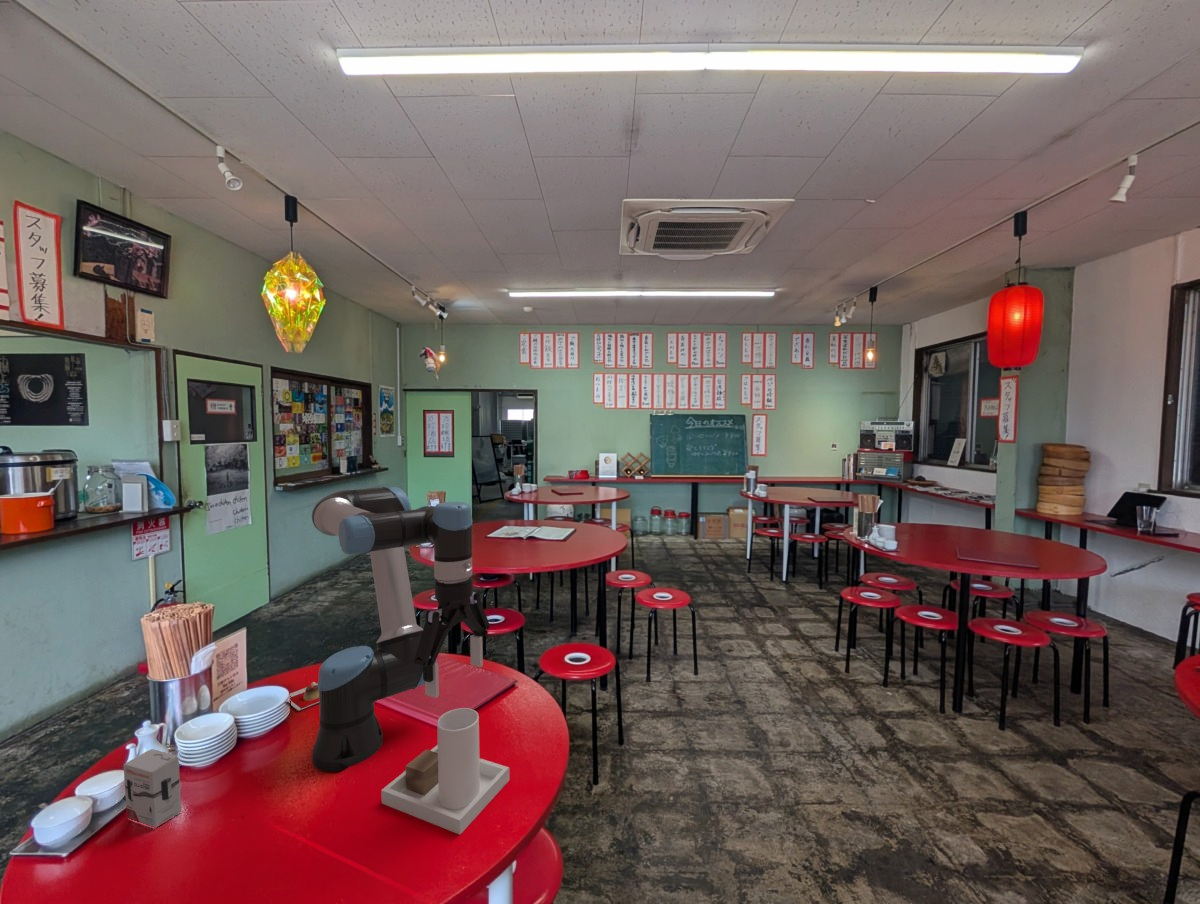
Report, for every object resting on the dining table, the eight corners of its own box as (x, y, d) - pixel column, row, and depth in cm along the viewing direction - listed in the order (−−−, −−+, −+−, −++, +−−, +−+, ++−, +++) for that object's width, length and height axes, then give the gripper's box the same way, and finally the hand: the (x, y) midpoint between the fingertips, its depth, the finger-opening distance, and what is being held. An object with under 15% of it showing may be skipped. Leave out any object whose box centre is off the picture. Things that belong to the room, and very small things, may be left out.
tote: (381, 807, 101) (381, 790, 100) (437, 759, 115) (437, 744, 115) (460, 838, 92) (459, 820, 92) (509, 783, 107) (509, 767, 107)
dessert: (298, 714, 136) (297, 697, 136) (281, 700, 143) (280, 684, 143) (343, 696, 145) (342, 680, 145) (324, 684, 153) (324, 668, 152)
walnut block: (406, 789, 104) (405, 765, 104) (426, 771, 110) (426, 749, 110) (424, 795, 102) (423, 772, 102) (444, 777, 108) (443, 755, 108)
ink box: (124, 821, 98) (122, 762, 97) (154, 803, 102) (151, 747, 102) (154, 831, 95) (151, 771, 95) (182, 812, 100) (180, 755, 99)
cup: (448, 779, 107) (447, 707, 107) (485, 781, 106) (484, 708, 106) (431, 807, 99) (430, 729, 99) (471, 810, 98) (470, 731, 98)
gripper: (422, 599, 89) (425, 715, 89) (504, 565, 111) (506, 657, 112) (392, 594, 92) (394, 706, 93) (477, 561, 114) (479, 652, 115)
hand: (455, 679), depth 102 cm, fingers open, 13 cm apart
